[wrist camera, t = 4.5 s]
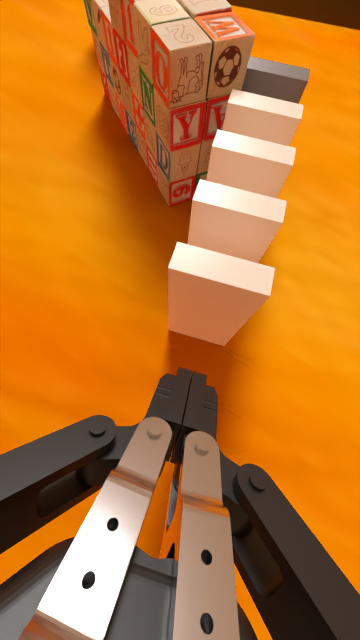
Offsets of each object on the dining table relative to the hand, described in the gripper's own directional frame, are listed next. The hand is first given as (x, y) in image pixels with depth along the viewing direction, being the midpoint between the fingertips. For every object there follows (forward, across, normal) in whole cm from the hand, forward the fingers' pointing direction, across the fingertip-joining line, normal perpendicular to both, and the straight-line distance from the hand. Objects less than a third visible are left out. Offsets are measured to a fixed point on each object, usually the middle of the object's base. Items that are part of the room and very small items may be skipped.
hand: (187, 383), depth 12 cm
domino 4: (+12, 0, -2) cm, 12 cm away
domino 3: (+15, 0, -5) cm, 16 cm away
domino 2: (+18, 0, -8) cm, 20 cm away
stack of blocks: (+25, +11, -14) cm, 31 cm away
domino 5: (+9, 0, +1) cm, 9 cm away
